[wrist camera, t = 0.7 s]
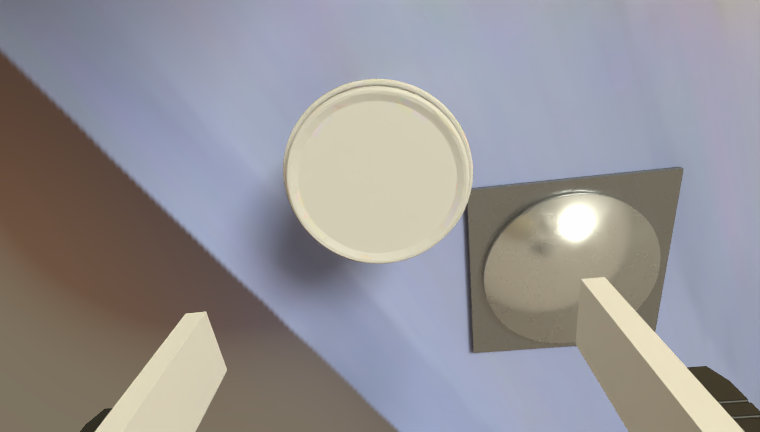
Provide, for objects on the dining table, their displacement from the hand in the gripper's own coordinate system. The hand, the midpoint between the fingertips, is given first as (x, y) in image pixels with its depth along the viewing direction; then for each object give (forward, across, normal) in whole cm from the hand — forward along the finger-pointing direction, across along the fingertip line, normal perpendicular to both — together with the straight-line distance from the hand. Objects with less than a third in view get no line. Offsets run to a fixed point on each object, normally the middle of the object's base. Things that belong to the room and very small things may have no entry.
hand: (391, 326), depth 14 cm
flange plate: (+18, +14, -10) cm, 25 cm away
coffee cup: (+19, 0, +3) cm, 19 cm away
